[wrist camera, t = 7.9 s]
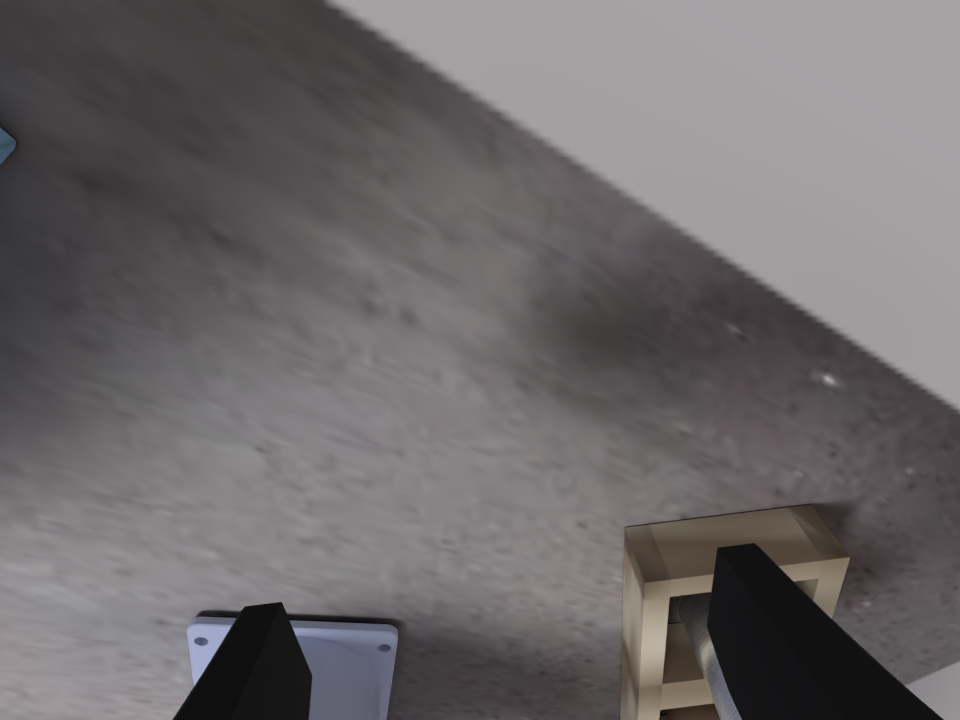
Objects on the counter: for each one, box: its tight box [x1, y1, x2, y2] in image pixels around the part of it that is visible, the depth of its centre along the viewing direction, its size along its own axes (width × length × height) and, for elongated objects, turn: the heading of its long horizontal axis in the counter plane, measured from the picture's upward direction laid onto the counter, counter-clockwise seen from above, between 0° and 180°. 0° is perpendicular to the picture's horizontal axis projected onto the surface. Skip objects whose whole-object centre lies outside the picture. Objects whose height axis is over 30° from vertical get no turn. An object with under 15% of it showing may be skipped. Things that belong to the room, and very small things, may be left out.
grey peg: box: [672, 592, 742, 720], centre depth 21 cm, size 4×4×8 cm
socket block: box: [620, 504, 850, 720], centre depth 24 cm, size 14×7×6 cm, turn 6°
